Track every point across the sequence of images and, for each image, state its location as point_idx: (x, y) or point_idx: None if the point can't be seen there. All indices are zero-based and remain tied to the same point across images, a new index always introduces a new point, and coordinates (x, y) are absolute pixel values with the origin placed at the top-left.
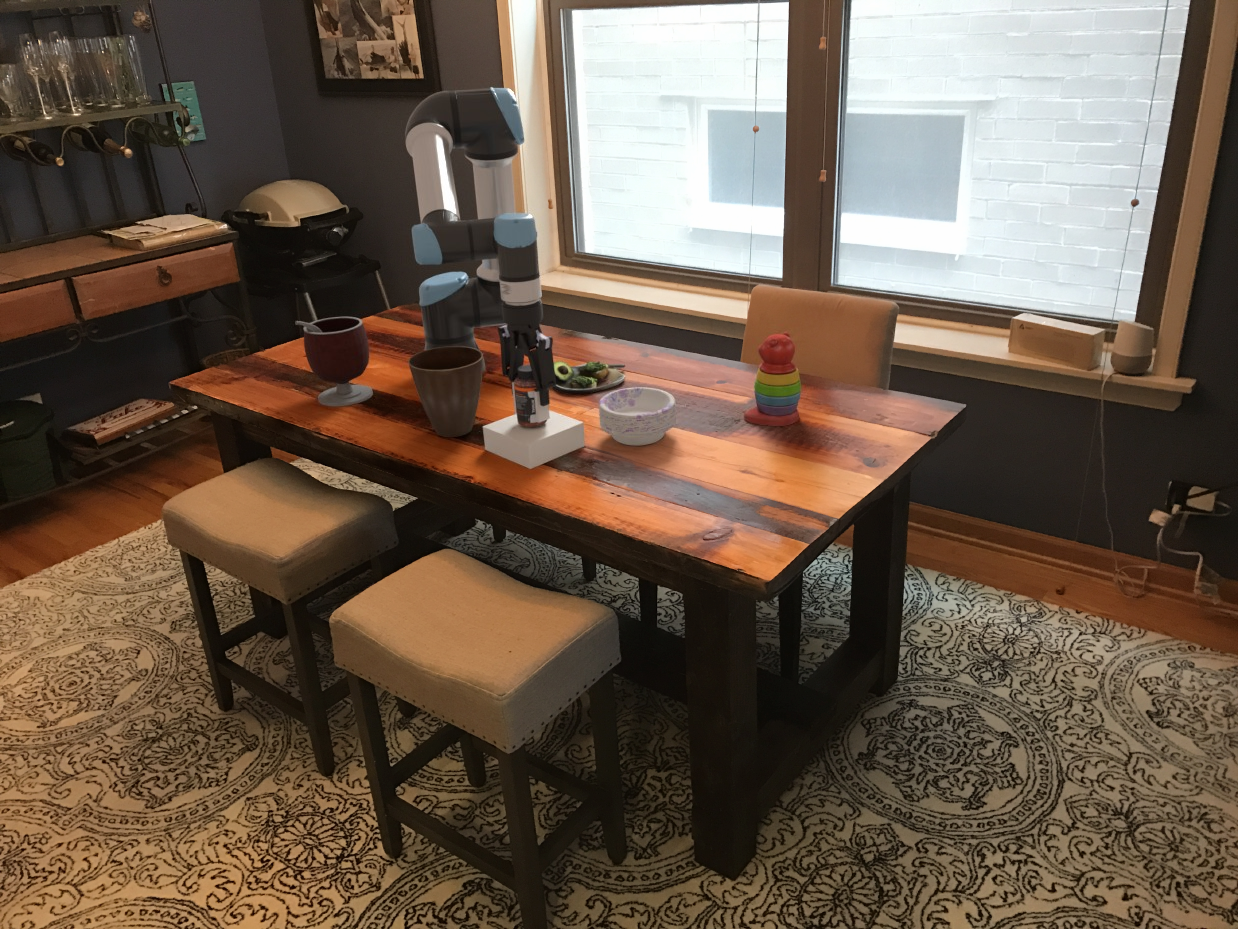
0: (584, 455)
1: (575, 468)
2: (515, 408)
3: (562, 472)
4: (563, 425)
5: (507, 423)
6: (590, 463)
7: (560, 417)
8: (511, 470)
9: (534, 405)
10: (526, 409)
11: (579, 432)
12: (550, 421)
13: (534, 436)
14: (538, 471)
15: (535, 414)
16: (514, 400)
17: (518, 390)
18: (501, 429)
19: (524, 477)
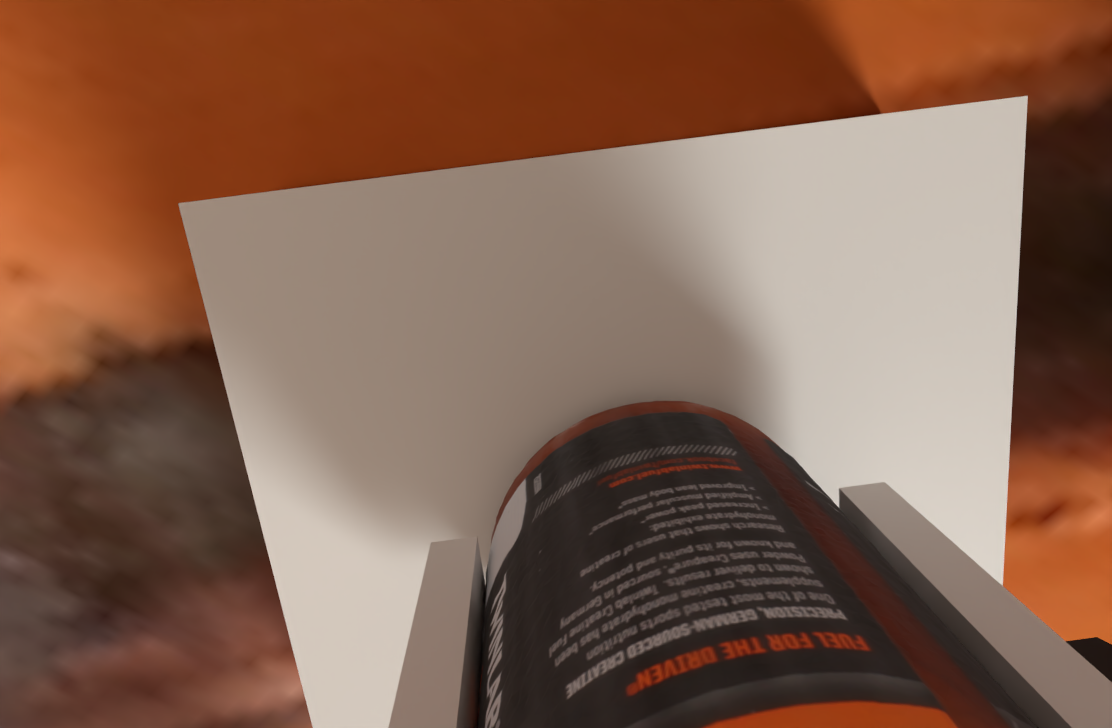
0: (245, 619)
1: (72, 458)
2: (898, 518)
3: (61, 348)
4: None
5: (871, 355)
6: (90, 579)
7: None
8: (357, 51)
9: (488, 673)
10: (557, 541)
11: None
12: None
13: (346, 379)
14: None
15: (493, 588)
16: (967, 579)
17: (759, 713)
18: (781, 214)
19: (155, 57)
